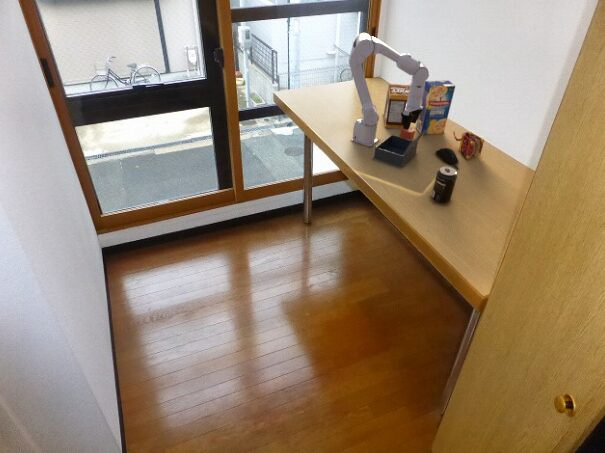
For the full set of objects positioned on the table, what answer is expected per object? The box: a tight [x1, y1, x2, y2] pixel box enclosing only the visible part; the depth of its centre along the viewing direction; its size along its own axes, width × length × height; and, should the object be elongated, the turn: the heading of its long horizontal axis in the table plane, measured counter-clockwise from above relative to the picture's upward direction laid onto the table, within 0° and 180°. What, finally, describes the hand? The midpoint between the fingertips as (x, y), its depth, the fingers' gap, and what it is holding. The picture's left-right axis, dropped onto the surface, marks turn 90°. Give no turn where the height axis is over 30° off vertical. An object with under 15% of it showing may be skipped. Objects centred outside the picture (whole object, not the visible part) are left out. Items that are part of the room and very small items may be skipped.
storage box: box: [373, 134, 419, 168], centre depth 176 cm, size 15×12×6 cm
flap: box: [403, 130, 426, 155], centre depth 169 cm, size 15×6×1 cm
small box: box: [399, 127, 416, 141], centre depth 186 cm, size 5×4×6 cm
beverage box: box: [415, 80, 456, 135], centre depth 191 cm, size 7×11×22 cm, turn 98°
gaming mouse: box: [435, 147, 459, 170], centre depth 175 cm, size 6×15×4 cm, turn 15°
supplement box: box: [383, 83, 410, 130], centre depth 200 cm, size 10×15×16 cm
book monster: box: [452, 131, 485, 160], centre depth 178 cm, size 11×9×12 cm
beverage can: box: [430, 166, 458, 204], centre depth 149 cm, size 7×7×12 cm
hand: (409, 125), depth 183 cm, fingers open, 7 cm apart
